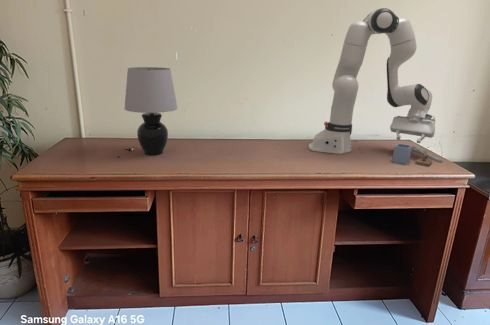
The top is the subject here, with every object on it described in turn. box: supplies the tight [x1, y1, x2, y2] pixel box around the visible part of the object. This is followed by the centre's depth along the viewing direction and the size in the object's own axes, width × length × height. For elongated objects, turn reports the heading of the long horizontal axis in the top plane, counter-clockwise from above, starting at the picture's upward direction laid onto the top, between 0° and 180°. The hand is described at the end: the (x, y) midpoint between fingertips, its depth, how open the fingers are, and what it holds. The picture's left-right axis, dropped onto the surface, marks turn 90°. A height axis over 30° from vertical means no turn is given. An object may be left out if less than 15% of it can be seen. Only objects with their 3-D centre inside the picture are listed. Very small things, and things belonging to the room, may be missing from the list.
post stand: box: [414, 150, 433, 168], centre depth 168 cm, size 6×6×6 cm
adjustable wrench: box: [411, 145, 444, 163], centre depth 184 cm, size 25×6×2 cm, turn 4°
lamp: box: [124, 66, 178, 157], centre depth 167 cm, size 24×24×40 cm
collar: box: [391, 143, 413, 165], centre depth 170 cm, size 6×6×8 cm
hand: (408, 140), depth 174 cm, fingers open, 8 cm apart
